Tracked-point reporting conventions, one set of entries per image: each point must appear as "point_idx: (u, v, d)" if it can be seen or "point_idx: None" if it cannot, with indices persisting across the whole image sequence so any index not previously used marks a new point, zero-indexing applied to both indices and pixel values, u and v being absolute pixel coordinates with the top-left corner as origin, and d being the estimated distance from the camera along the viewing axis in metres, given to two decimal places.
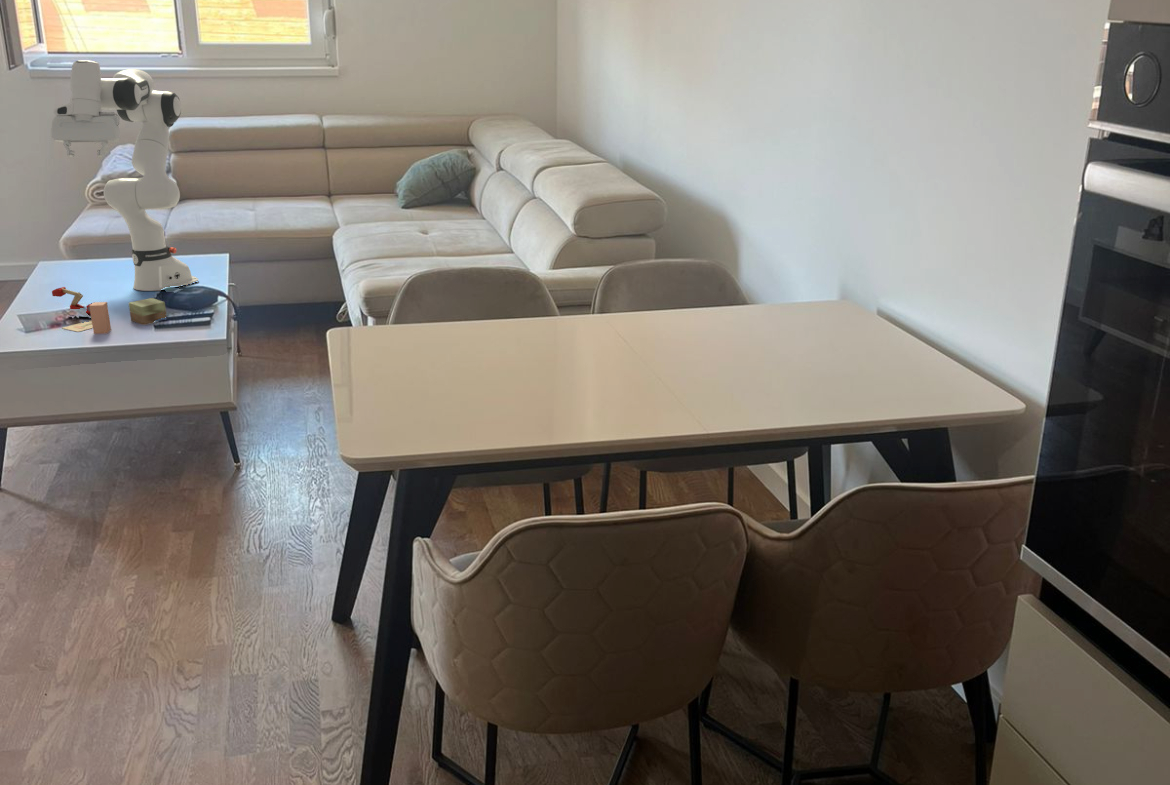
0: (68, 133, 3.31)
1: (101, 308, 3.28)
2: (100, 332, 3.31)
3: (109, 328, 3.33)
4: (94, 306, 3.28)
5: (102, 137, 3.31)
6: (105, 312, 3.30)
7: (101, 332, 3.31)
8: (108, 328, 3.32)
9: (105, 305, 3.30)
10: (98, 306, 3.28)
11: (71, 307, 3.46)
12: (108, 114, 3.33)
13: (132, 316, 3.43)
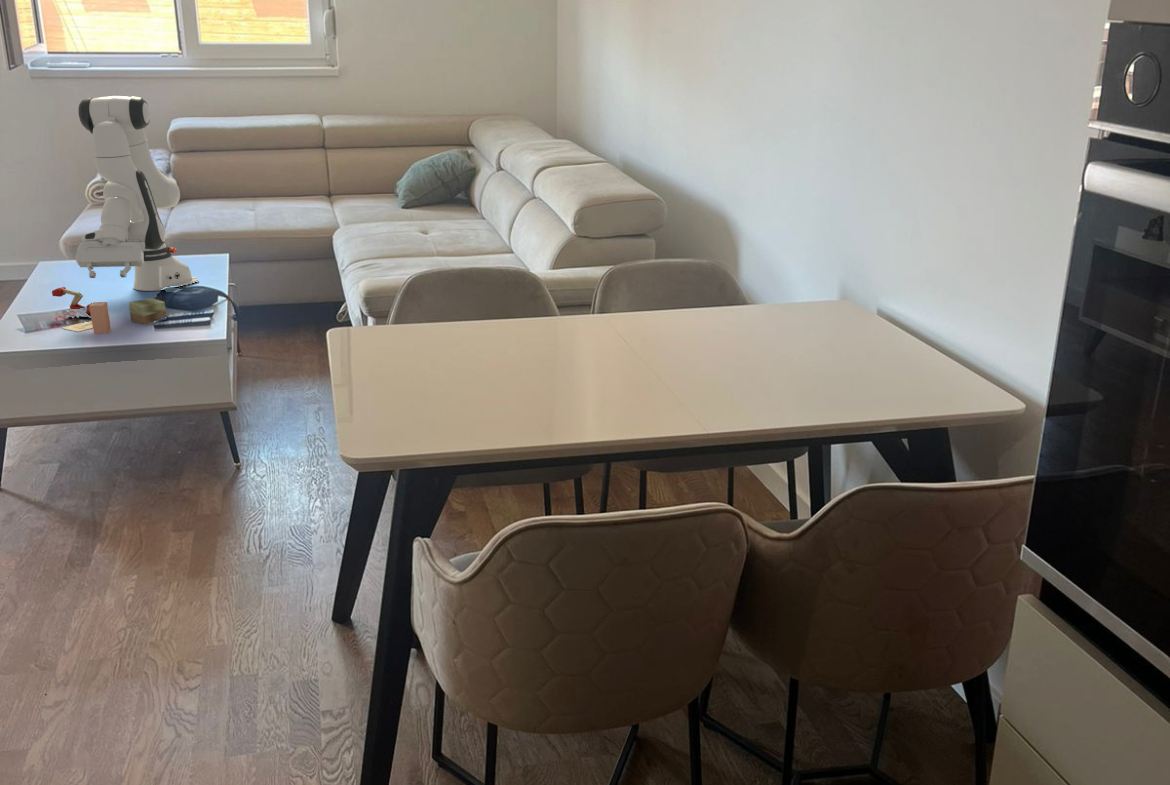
0: (93, 255, 3.40)
1: (101, 308, 3.28)
2: (100, 332, 3.31)
3: (109, 328, 3.33)
4: (94, 306, 3.28)
5: (127, 258, 3.40)
6: (105, 312, 3.30)
7: (101, 332, 3.31)
8: (108, 328, 3.32)
9: (105, 305, 3.30)
10: (98, 306, 3.28)
11: (71, 307, 3.46)
12: (135, 241, 3.45)
13: (132, 316, 3.43)
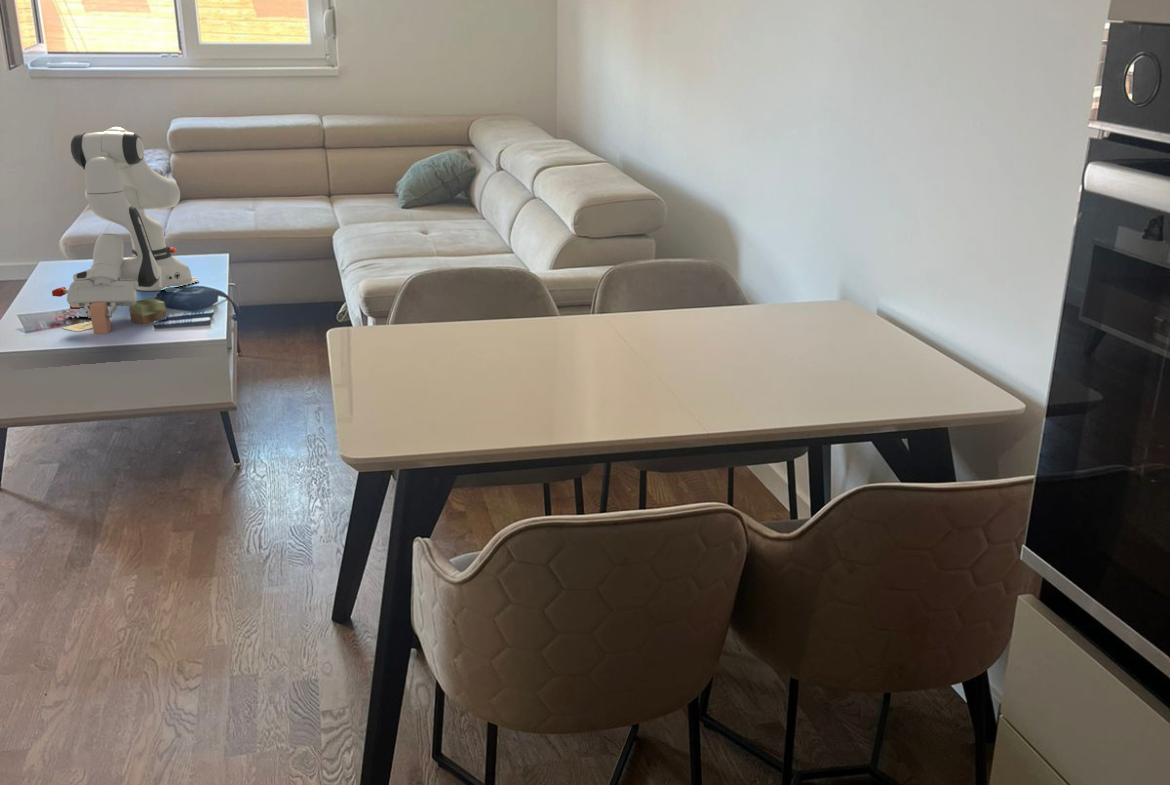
0: (84, 295, 3.31)
1: (101, 308, 3.28)
2: (100, 332, 3.31)
3: (109, 327, 3.33)
4: (94, 306, 3.28)
5: (119, 298, 3.32)
6: (105, 312, 3.30)
7: (101, 332, 3.31)
8: (108, 328, 3.32)
9: (105, 305, 3.30)
10: (98, 306, 3.28)
11: (71, 307, 3.46)
12: (127, 280, 3.36)
13: (132, 316, 3.43)
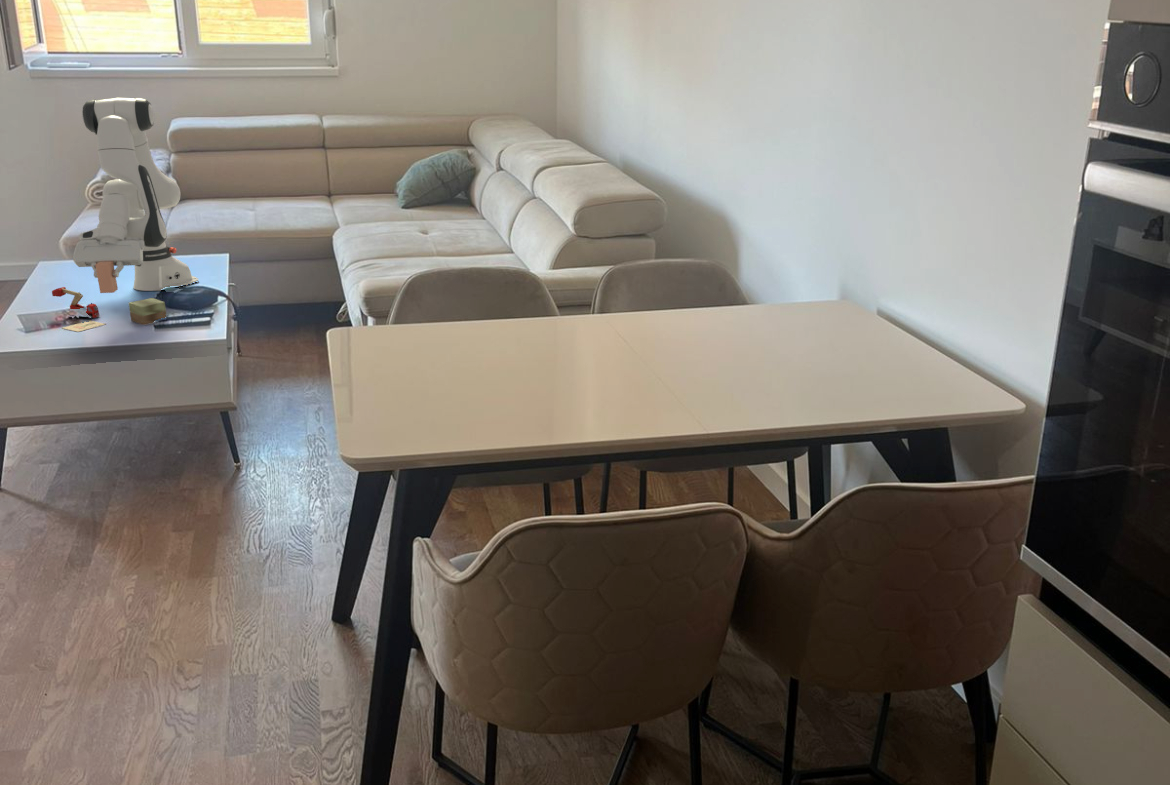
0: (90, 255, 3.30)
1: (107, 267, 3.27)
2: (106, 291, 3.29)
3: (115, 287, 3.32)
4: (100, 265, 3.26)
5: (125, 257, 3.30)
6: (111, 271, 3.29)
7: (107, 291, 3.29)
8: (114, 287, 3.31)
9: (111, 264, 3.29)
10: (104, 265, 3.27)
11: (71, 307, 3.46)
12: (134, 239, 3.35)
13: (132, 316, 3.43)
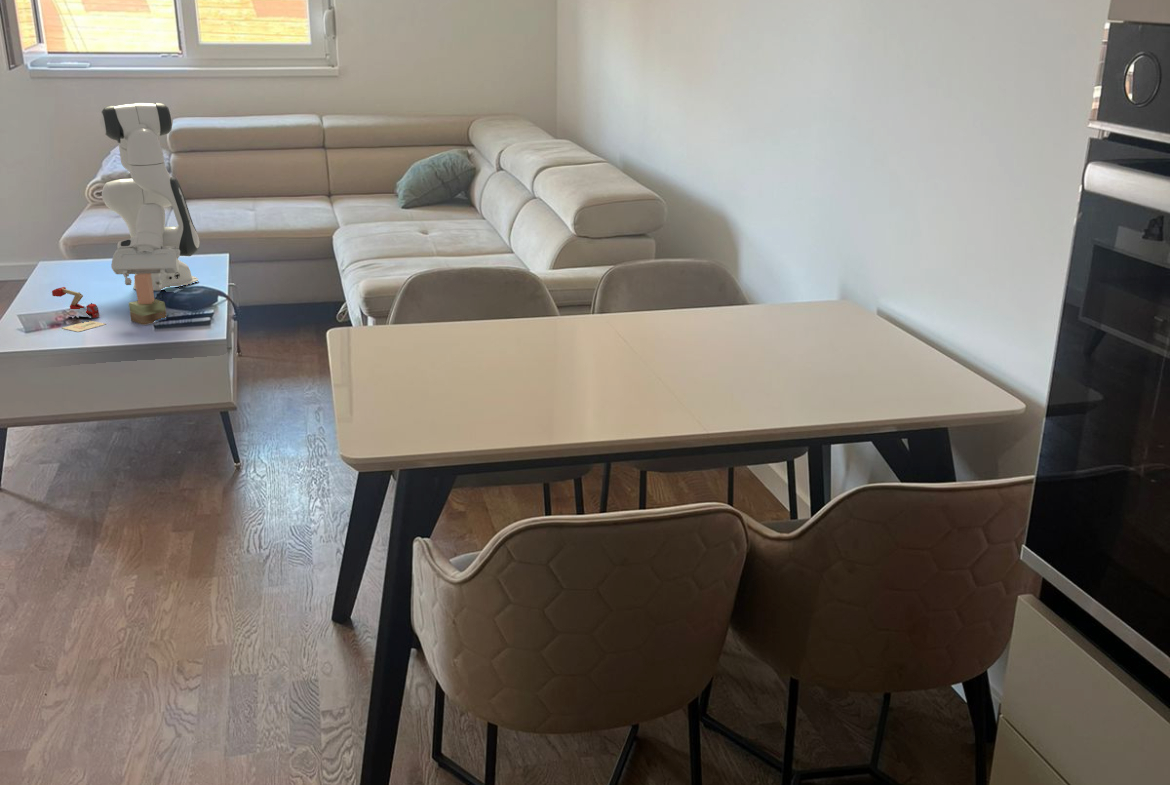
0: (128, 262, 3.41)
1: (145, 279, 3.38)
2: (144, 302, 3.41)
3: (153, 298, 3.43)
4: (139, 277, 3.38)
5: (162, 265, 3.41)
6: (149, 283, 3.40)
7: (145, 302, 3.41)
8: (152, 299, 3.43)
9: (149, 276, 3.40)
10: (143, 277, 3.38)
11: (71, 307, 3.46)
12: (170, 248, 3.46)
13: (132, 316, 3.43)
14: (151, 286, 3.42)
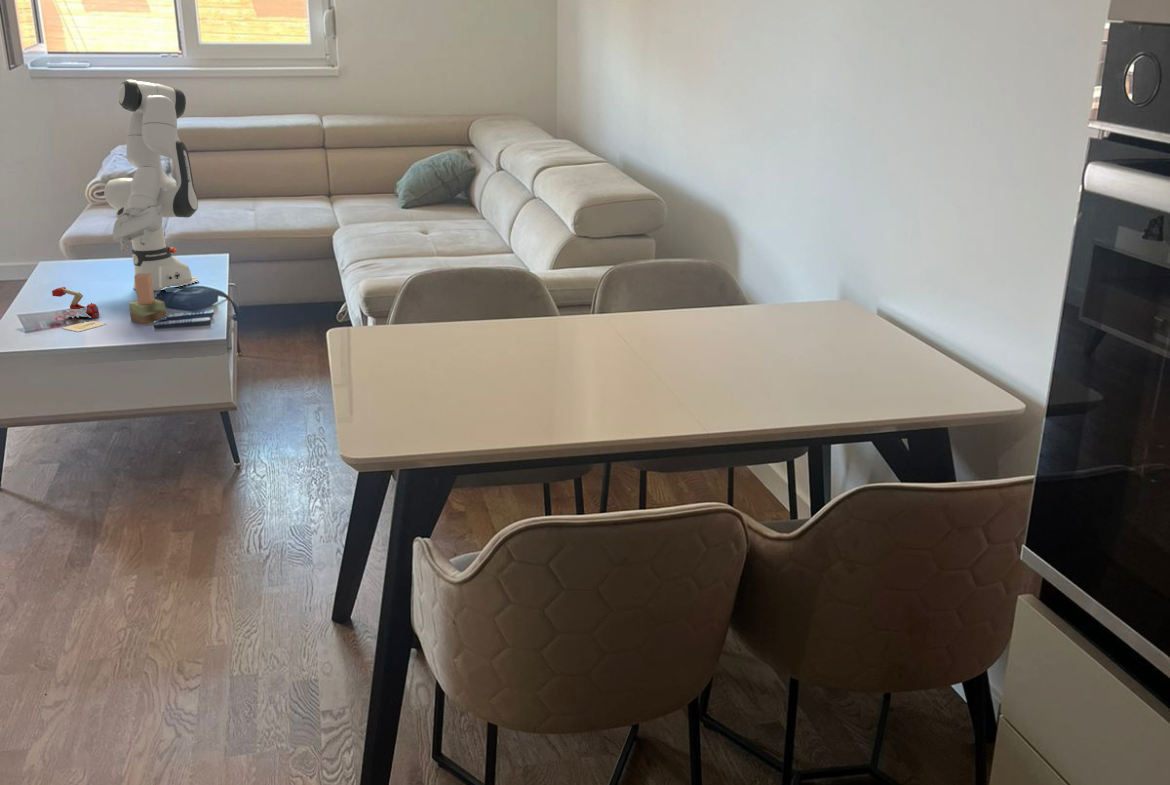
0: (123, 230, 3.47)
1: (145, 279, 3.38)
2: (144, 302, 3.41)
3: (153, 298, 3.43)
4: (139, 277, 3.38)
5: (144, 225, 3.41)
6: (149, 283, 3.40)
7: (145, 302, 3.41)
8: (152, 299, 3.43)
9: (149, 276, 3.40)
10: (143, 277, 3.38)
11: (71, 307, 3.46)
12: (154, 206, 3.44)
13: (132, 316, 3.43)
14: (151, 286, 3.42)
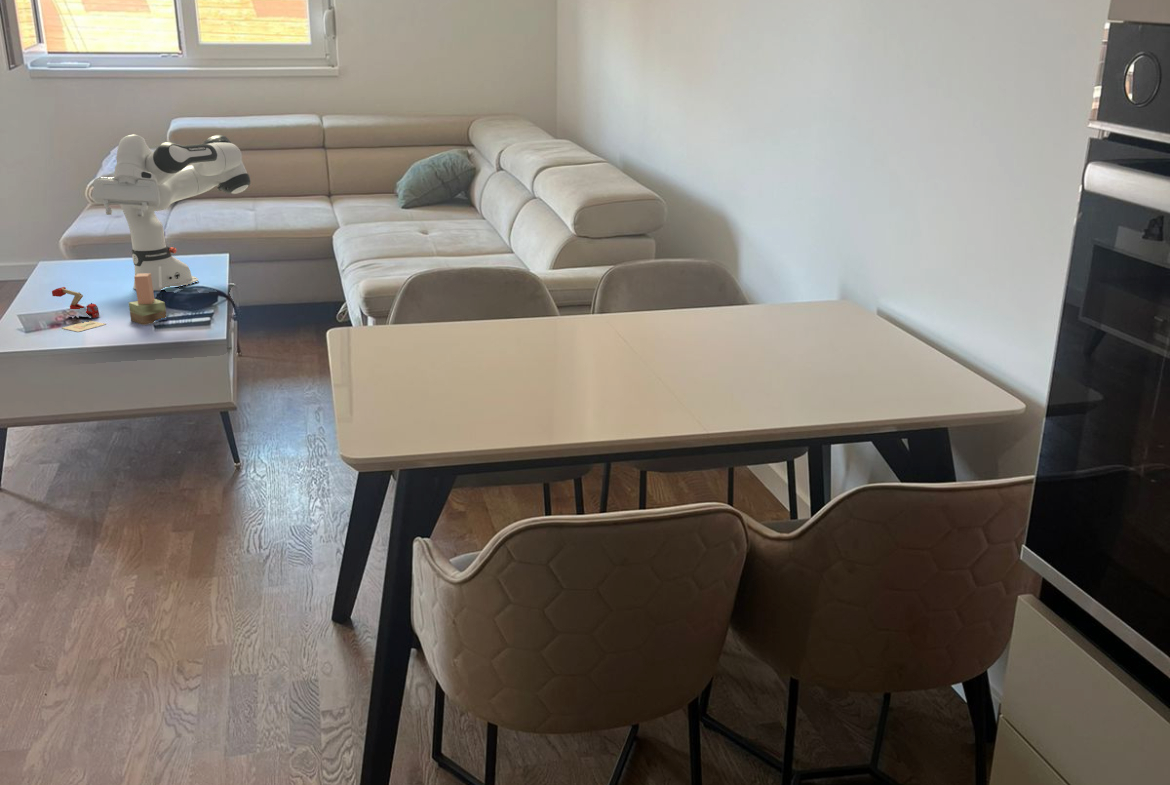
0: None
1: (145, 279, 3.38)
2: (144, 302, 3.41)
3: (153, 298, 3.43)
4: (139, 277, 3.38)
5: None
6: (149, 283, 3.40)
7: (145, 302, 3.41)
8: (152, 299, 3.43)
9: (149, 276, 3.40)
10: (143, 277, 3.38)
11: (71, 307, 3.46)
12: None
13: (132, 316, 3.43)
14: (151, 286, 3.42)
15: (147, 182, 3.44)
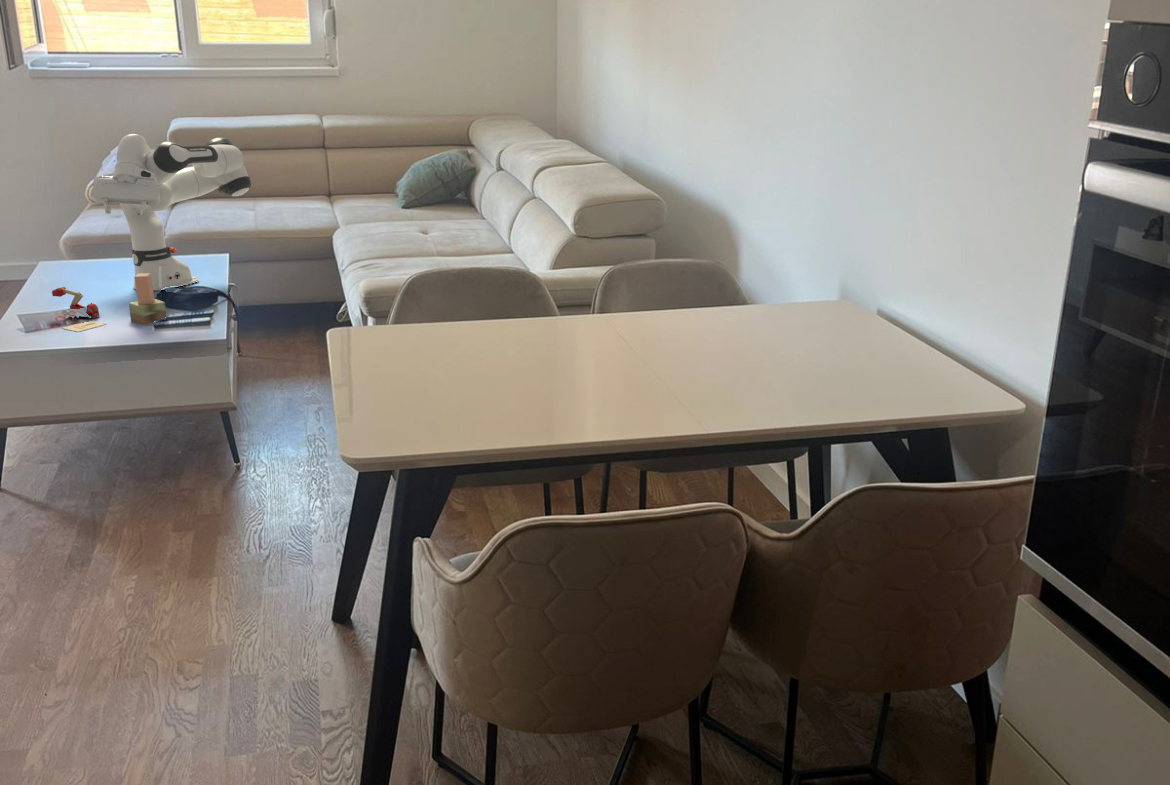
0: None
1: (145, 279, 3.38)
2: (144, 302, 3.41)
3: (153, 298, 3.43)
4: (139, 277, 3.38)
5: None
6: (149, 283, 3.40)
7: (145, 302, 3.41)
8: (152, 299, 3.43)
9: (149, 276, 3.40)
10: (143, 277, 3.38)
11: (71, 307, 3.46)
12: None
13: (132, 316, 3.43)
14: (151, 286, 3.42)
15: (146, 181, 3.44)
